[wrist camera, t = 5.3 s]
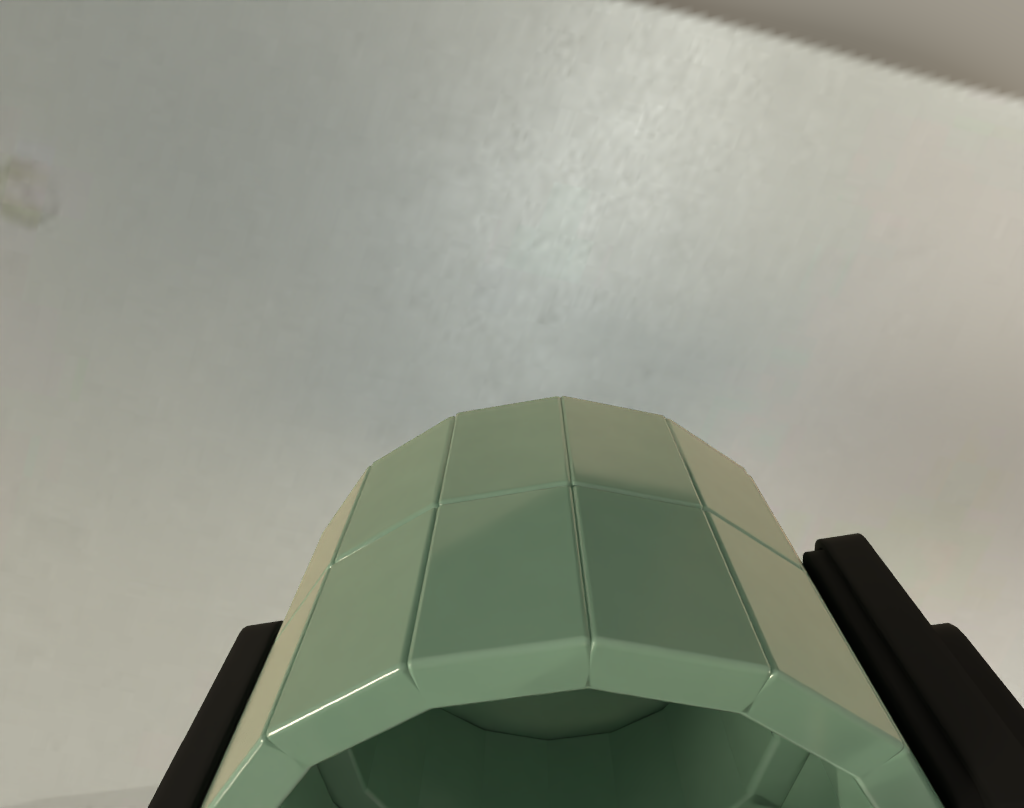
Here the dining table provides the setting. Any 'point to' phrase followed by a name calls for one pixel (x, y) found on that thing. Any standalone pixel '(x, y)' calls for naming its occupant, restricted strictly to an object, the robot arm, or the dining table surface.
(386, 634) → the bowl
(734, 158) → the dining table surface
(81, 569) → the dining table surface
